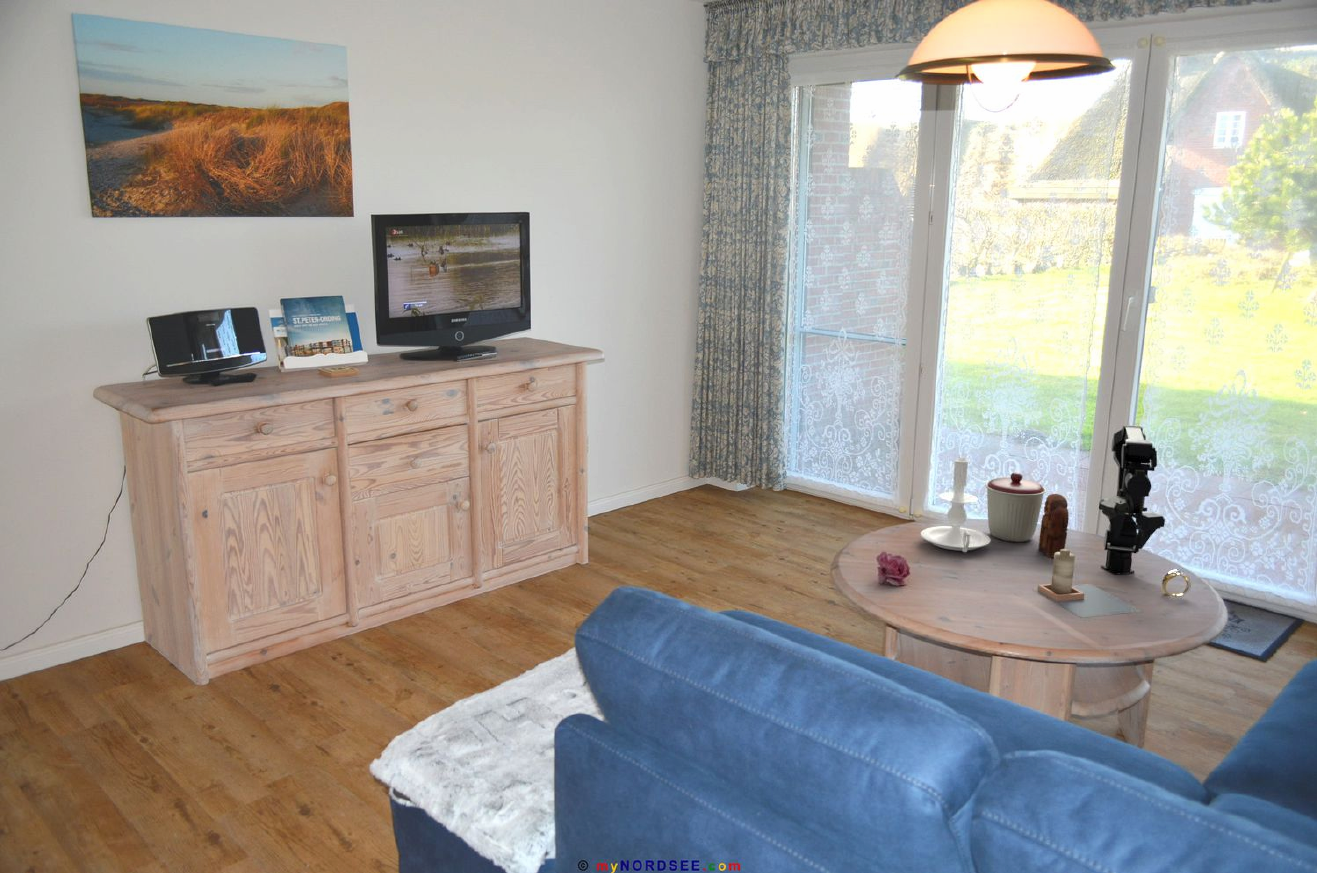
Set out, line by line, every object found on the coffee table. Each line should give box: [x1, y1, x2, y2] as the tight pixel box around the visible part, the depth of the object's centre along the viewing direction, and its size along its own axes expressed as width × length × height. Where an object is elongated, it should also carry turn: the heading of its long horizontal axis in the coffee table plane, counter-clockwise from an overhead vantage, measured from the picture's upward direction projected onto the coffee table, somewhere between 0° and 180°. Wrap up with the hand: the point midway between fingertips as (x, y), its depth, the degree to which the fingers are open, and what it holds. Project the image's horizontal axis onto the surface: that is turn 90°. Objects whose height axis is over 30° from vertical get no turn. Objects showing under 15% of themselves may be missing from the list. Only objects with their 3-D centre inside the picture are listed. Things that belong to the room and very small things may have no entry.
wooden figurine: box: [1038, 493, 1070, 559], centre depth 298 cm, size 12×6×18 cm, turn 176°
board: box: [1032, 583, 1143, 619], centre depth 259 cm, size 20×18×2 cm
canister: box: [984, 471, 1047, 543], centre depth 312 cm, size 18×18×21 cm
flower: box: [875, 551, 911, 587], centre depth 274 cm, size 10×9×9 cm
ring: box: [1161, 568, 1192, 599], centre depth 263 cm, size 7×3×8 cm, turn 79°
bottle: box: [1050, 548, 1076, 595], centre depth 262 cm, size 5×5×12 cm
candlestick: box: [920, 457, 992, 553], centre depth 300 cm, size 21×25×28 cm
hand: (1127, 543), depth 268 cm, fingers open, 9 cm apart
